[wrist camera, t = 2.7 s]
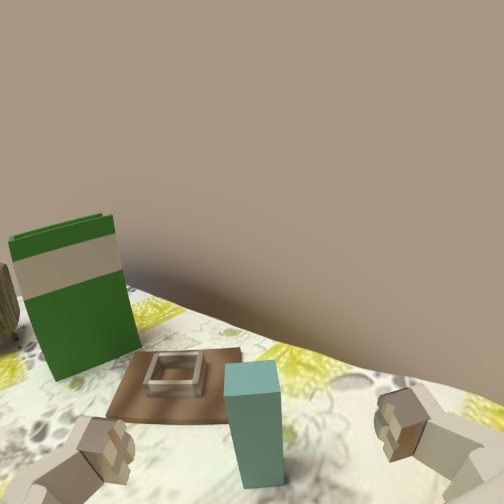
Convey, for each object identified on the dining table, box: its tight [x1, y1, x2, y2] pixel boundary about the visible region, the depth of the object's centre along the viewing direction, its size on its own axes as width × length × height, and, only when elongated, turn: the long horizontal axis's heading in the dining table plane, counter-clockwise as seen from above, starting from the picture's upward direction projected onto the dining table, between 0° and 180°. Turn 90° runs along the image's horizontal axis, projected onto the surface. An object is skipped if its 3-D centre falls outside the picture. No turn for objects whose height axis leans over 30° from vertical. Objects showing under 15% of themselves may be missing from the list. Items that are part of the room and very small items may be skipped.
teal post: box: [224, 360, 284, 489], centre depth 24 cm, size 4×4×14 cm
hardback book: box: [8, 213, 142, 382], centre depth 45 cm, size 18×7×24 cm, turn 133°
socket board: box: [106, 347, 241, 425], centre depth 41 cm, size 18×16×4 cm
